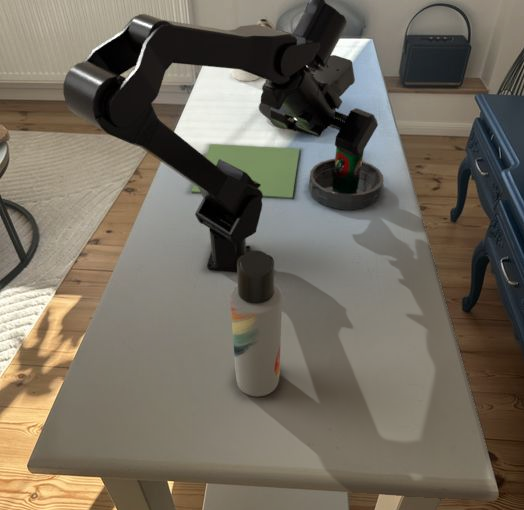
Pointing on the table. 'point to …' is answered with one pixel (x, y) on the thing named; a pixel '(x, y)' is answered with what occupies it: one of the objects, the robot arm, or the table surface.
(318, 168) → the pan
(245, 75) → the mug
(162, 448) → the table surface
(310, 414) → the table surface
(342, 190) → the soda can
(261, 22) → the ceramic sculpture
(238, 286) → the lotion bottle
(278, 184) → the napkin
